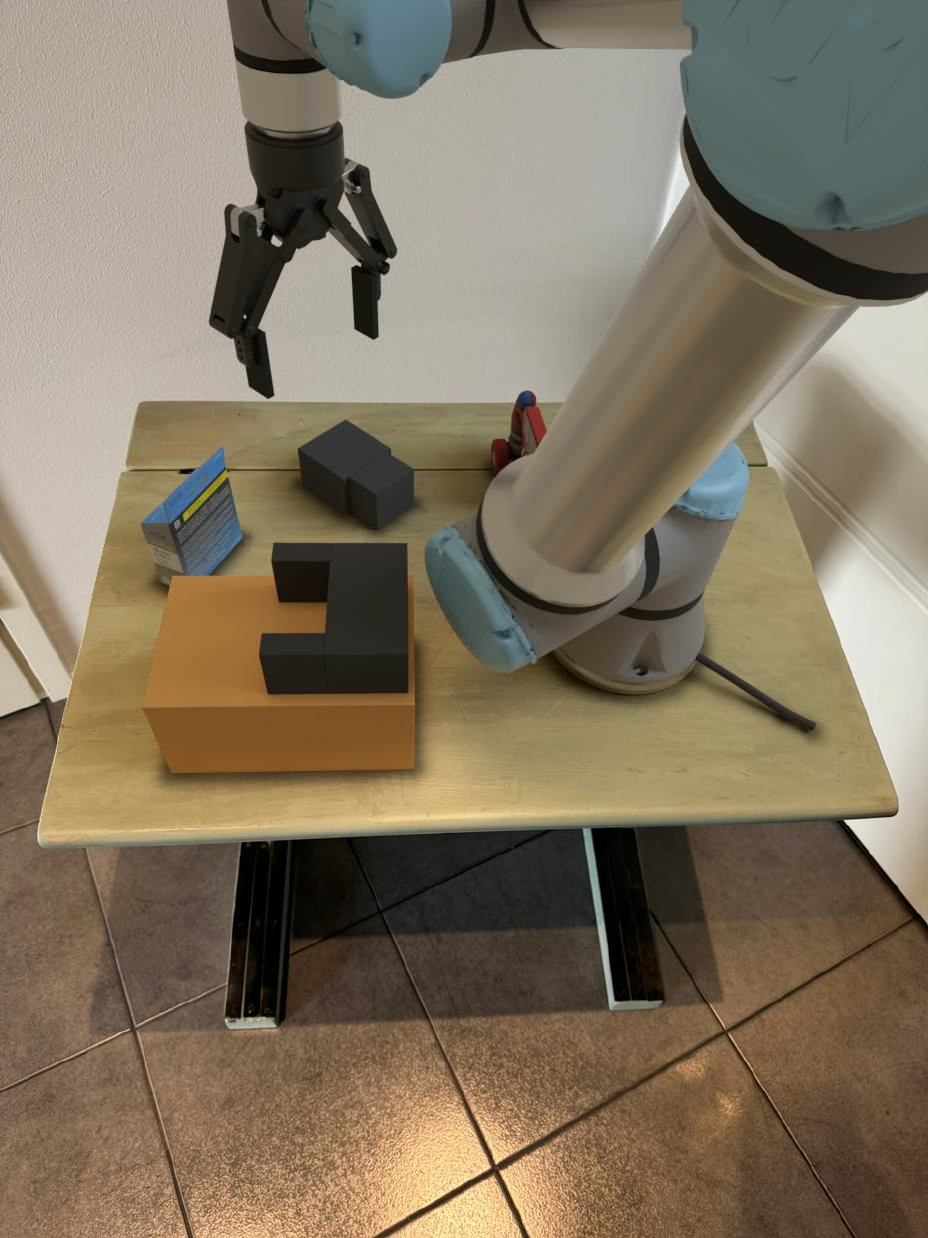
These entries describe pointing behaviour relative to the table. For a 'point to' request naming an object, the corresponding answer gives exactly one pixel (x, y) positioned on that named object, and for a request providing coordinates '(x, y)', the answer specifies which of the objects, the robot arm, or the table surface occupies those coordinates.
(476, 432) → the table surface
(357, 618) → the orange and black block
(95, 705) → the table surface
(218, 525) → the blue retail box
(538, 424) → the toy fire truck
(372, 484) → the black stepped block
